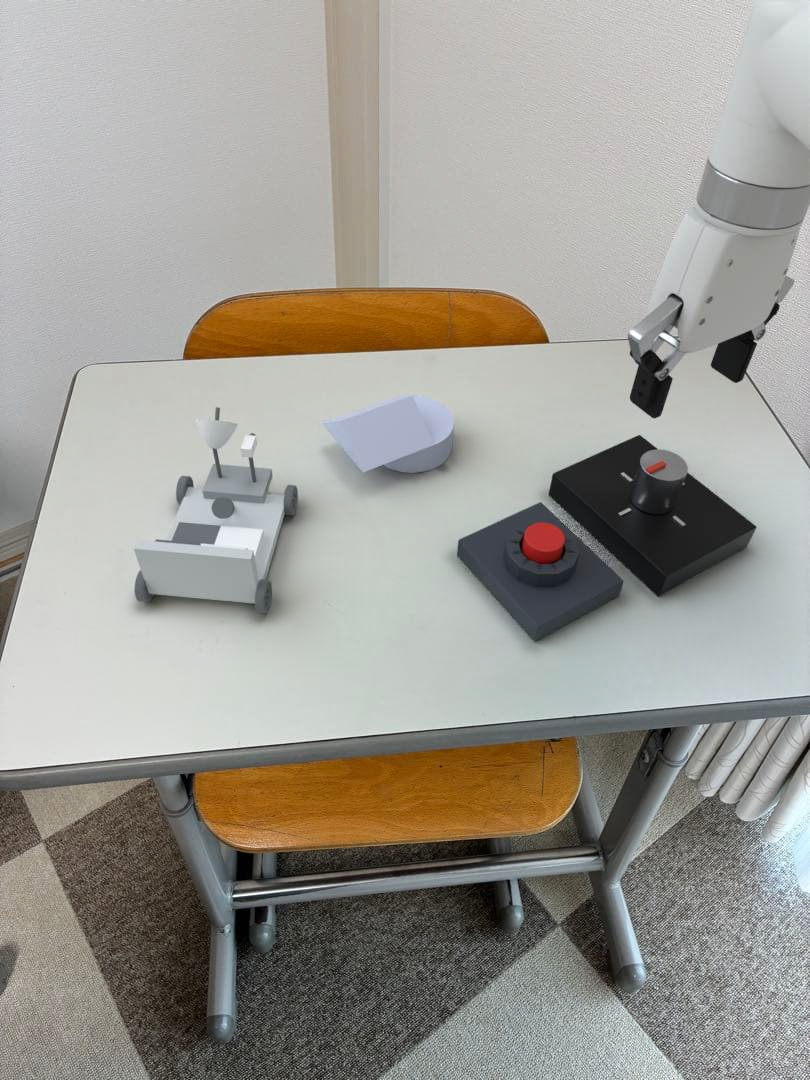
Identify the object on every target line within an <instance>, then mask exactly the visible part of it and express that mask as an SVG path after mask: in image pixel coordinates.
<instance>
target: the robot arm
mask: <svg viewBox="0 0 810 1080" xmlns="http://www.w3.org/2000/svg"><path fill="white" fill-rule="evenodd" d="M712 139H713V140H712V143H711V147H710V148H709V149H710V150H709V153H708V157H707V159H706V162H705V166H704V169H703V171H702V176H701V179H700V183H699V186H698V190H697V193H696V197H695V200H694V203H693V206H694V207H692V208H691V209H689V210H687V211H686V213H685V215H684V217H683V219H682V221H681V223H680V224H679V226H678V229H677V230H676V232H675V235H674V237H673V239H672V241H671V243H670V246H669V248H668V251H667V253H666V256H665V257H664V261H663V263H662V266H661V269H660V272H659V274H658V276H657V280H656V282H655V285H654V288H653V292H652V293H651V297H650V301H649V304H648V307H647V310H646V314H645V317H644V318H643V319H642V320H641V321H639V322H638V323H637V324H636V325H634V327H632V328H631V329H630V330H629V331H628V333H627V340H628V345H629V350H630V351H629V356H630V357H631V358H632V359H633V361H634V363H635V364H636V365H638V366H637V369H636V373H635V376H634V380H633V384H632V387H631V391H630V394H629V401H630V402H631V403H632V404H633V405H635V407H637V408H639V409H640V410H641V411H642V412H644V413H645V414H646V415H647V416H649V417H650V418H651V419H654V420H655V419H657V418H659V417H661V416H662V414H663V410H664V407H665V405H666V402H667V398H668V396H669V392H670V390H671V386H672V383H673V379H674V377H672V376H671V375H670V374H671V372H672V371H673V370H674V369H675V368H676V366H677V365H678V364H679V363H680V362H681V360H683V358H684V356H685V355H686V354H692V353H697V352H700V351H703V350H706V349H708V348H710V347H713V346H715V345H717V346H716V347H715V348H716V349H715V351H714V354H713V356H712V360H711V362H710V367H711V368H712V369H713V370H714V371H716V372H718V373H719V374H721V375H722V376H723V377H724V378H726V379H728V380H729V381H731V382H733V383H734V384H738V383H741V382H742V381H743V380H744V377H745V375H746V373H747V370H748V368H749V365H750V362H751V360H752V358H753V355H754V354H755V350H756V348H757V346H758V343H757V342H759V341H760V340H761V339H763V338H764V336H765V335H766V333H767V327H766V325H767V324H768V323H769V322H770V321H771V320H772V319H773V318H774V317H775V316H776V315H777V314H778V312H779V310H780V308H781V307H780V305H781V304H780V303H782V302H783V300H784V299H785V297H786V296H787V295H788V293H789V292H790V291H791V289H792V287H794V284H795V280H794V278H792V277H790V276H788V275H787V273H788V271H789V267H790V265H791V261H792V258H793V256H794V252H795V249H796V245H797V242H798V238H799V234H800V231H801V227H802V225H803V223H804V221H805V217H806V215H807V213H808V211H809V208H810V0H755V1H754V2H753V5H752V7H751V11H750V14H749V17H748V19H747V23H746V26H745V29H744V33H743V37H742V40H741V44H740V47H739V50H738V54H737V57H736V61H735V64H734V68H733V72H732V74H731V78H730V81H729V85H728V88H727V92H726V95H725V98H724V102H723V105H722V108H721V112H720V115H719V119H718V122H717V126H716V128H715V132H714V136H713V138H712ZM674 328H675V329H677V337H676V336H674V335H672V334H671V333H670V332H671V331H672V330H673V329H674ZM664 343H666V344H668V345H669V346H670V347H672V348H671V350H670V351H669V352H668V354H667V355H666V356H665V357H664V359H663V360H662V359H661V358H660V356H659V355H657V352H658V350H659V349H660V348H661V347H662V346H663V344H664Z"/></svg>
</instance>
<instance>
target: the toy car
mask: <svg viewBox="0 0 810 1080" xmlns="http://www.w3.org/2000/svg"><path fill="white" fill-rule="evenodd" d="M220 413H221V407H215V413H214V419H205V418H204V419H203V418H200V419H197V418H196V419H195V424H196V427H197V429H198V431H199V434H200V436H201V438H202V440H203V442H204V443H205V445H206V446H208V447H209V448H210V449H212V453H213V458H214V463H212V465H211V468H210V471H209V473H208V476H207V478H206V481H205V483H204V485H203V487H195V486H194V480H193V477H191V476H190V475H181V476H180V477H179V478H178V480H177V483H176V488H175V497H176V503H177V504H178V505H179V507H178V509H177V512H176V515H175V517H174V520H173V522H172V524H171V527H170V529H169V532H168V533H167V536H166V539H155V541H154V540H142V539H137V540H136V543H135V545H134V547H133V551H134V553H135V557H136V560H137V562H138V566H139V568H140V570H139V571H138V573H137V575H136V576H135V583H134V597H135V600H137V601H138V603H139V602H140V603H150V602H151V601H152V599H153V597H154V595H158V596H170V597H182V598H191V599H193V598H194V599H203V600H213V601H222V602H223V601H225V602H234V603H245V604H254V609H255V612H256V613H257V614H267V613H268V612H269V610H270V608H271V602H272V595H273V594H272V593H273V587H272V581H271V580H270V579H267V577H268V573H269V571H270V566H271V563H272V559H273V557H274V556H273V555H274V552H275V549H276V545H277V542H278V539H279V535H280V531H281V528H282V524H283V521H284V517H285V516H294V515H296V512H297V508H298V503H299V502H298V501H299V491H298V486H297V485H296V484H287V486H286V487H285V488H284V494H277V493H276V494H275V493H268V492H269V489H270V486H271V483H272V480H273V468H268V467H266V468H265V467H255V461H254V454H255V451H256V448H257V445H258V441H257V436H256V433H254V432H251V433H250V434H245V435H244V438H243V441H242V444H241V446H240V455H241V457H242V458H248V462H249V466H243V465H230V464H221V463H220V459H219V453H218V450H219V449H222V448H223V447H224V446H226V444H227V443H228V442H229V440H230V439H231V438H232V436H233V435H234V433H235V431H236V429H237V428H238V425H239V424H238V423H235V422H231V421H225V420H220Z"/></svg>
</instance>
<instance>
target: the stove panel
mask: <svg viewBox="0 0 810 1080" xmlns="http://www.w3.org/2000/svg"><path fill="white" fill-rule="evenodd" d="M657 449H658V448H657V447H656V446H655V445H653V444H652V443H651V442H650V441H648V440H647V439H646V438H645V437H643V436H642V435H641V434H638V435H636V436H633V437H631V438H629V439H627V440H624V441H622V442H620V443H617V444H615V445H614V446H611V447H609V448H607V449H604V450H602V451H600V452H598V453H595V454H593V455H591V456H589V457H587V458H584V459H582V460H580V461H577V462H576V463H573V464H571V465H569V466H568V465H567V466H566V467H564V468H561V469H560V470H557V471H555V472H553V473H552V476H551V481H550V485H549V489H548V496H549V497H550V498H552V500H553V501H555V502H556V503H557V504H558V505H559V507H561V508H562V509H563V510H564V511H565V512H566V513H567V514H569V516H571V517H572V519H574V520H575V521H576V522H577V523H578V524H579V525H580V526H581V527H583V529H584V530H586V531H587V532H588V534H590V535H591V536H592V537H593V538H594V539H595V540H596V541H597V542H598V543H600V545H602V547H604V548H605V549H606V550H607V551H608V552H609V553H610V554H611V555H612V556H613V557H615V559H617V560H618V561H619V562H620V564H622V565H623V566H624V567H625V568H626V569H627V570H629V572H631V573H632V574H633V575H634V576H635V577H636V578H637V579H638V580H639V581H641V583H642V584H643V585H645V586H646V587H647V588H648V589H649V590H650V591H651V592H652V593H653V594H654V595H655V596H657V597H658V598H660V597H661V596H663V595H665V594H667V593H669V592H670V591H672V590H674V589H675V588H677V587H679V586H680V585H683V584H685V583H687V582H688V581H690V580H692V579H694V578H696V577H697V576H699V575H700V574H702V573H704V572H706V571H708V570H709V569H711V568H713V567H714V566H717V565H719V564H720V563H721V562H724V561H725V560H727V559H729V558H731V557H733V556H735V555H737V554H738V553H740V552H742V551H743V550H745V549H747V548H748V545H749V544H750V542H751V540H752V537H753V536H754V533H755V531H756V530H757V528H758V526H756V525H755V524H754V523H753V522H751V520H749V519H748V518H746V517H745V516H744V515H743V514H741V513H740V512H739V511H738V510H736V509H735V508H734V507H733V506H731V505H730V504H729V503H727V502H726V501H725V500H723V499H722V498H721V497H719V496H718V495H717V494H716V493H715V492H713V491H712V490H711V489H710V488H709V487H707V486H705V485H704V483H702V482H701V481H699V480H698V479H697V478H696V477H694V476H693V475H692V474H690V473H689V471H687V474H686V477H685V479H684V482H683V485H682V487H681V490H680V493H679V495H678V498H677V501H676V503H675V506H674V508H673V509H672V510H671V511H669V512H667V513H665V514H650V513H646V512H644V511H642V510H640V509H638V508H637V507H636V506H635V505H634V504H633V503H632V502H631V499H630V491H631V488H632V484H633V481H634V478H635V475H636V472H637V469H638V465H639V462H640V459H641V457H642V455H643V454H645V453H646V452H648V451H651V450H657Z"/></svg>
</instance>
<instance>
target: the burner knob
mask: <svg viewBox="0 0 810 1080" xmlns="http://www.w3.org/2000/svg"><path fill="white" fill-rule="evenodd" d="M688 470H689V469H688V463H687V462H686V460H685V459H684V458H683V457H682V456H680V455H679V454H677V453H675V452H673V451H670V450H667V449H659V448H657V450H651V451H648V452H646V453H645V454H643V455H642V457H641V459H640V462H639V465H638V469H637V472H636V475H635V478H634V481H633V484H632V488H631V491H630V499H631V502H632V503H633V504H634V505H635V506H636V507H637V508H638V509H640V510H642V511H644V512H646V513H650V514H665V513H667V512H669V511H671V510H672V509H673V508H674V506H675V503H676V501H677V498H678V495H679V493H680V490H681V487H682V485H683V482H684V479H685V477H686V474H687V472H689V471H688Z"/></svg>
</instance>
